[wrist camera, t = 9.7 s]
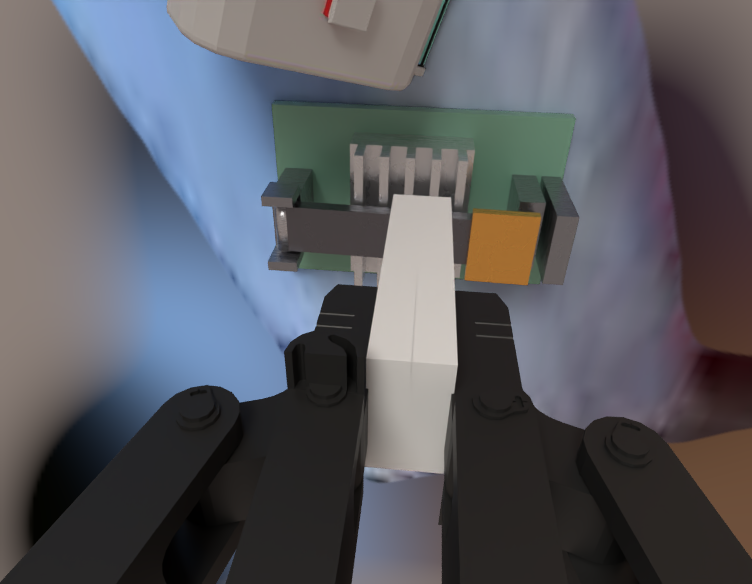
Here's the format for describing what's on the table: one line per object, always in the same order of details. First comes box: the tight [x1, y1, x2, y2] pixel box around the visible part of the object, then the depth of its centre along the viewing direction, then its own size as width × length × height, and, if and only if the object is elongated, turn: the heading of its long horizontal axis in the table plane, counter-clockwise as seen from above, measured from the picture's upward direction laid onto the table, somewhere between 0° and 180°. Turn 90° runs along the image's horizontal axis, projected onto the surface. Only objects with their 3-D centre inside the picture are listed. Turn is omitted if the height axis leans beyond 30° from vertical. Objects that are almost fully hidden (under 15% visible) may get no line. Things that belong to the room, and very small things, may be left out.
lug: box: [506, 174, 579, 285], centre depth 47 cm, size 6×4×8 cm
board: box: [272, 101, 576, 284], centre depth 51 cm, size 16×25×1 cm, turn 89°
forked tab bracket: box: [261, 168, 314, 272], centre depth 48 cm, size 7×2×8 cm, turn 179°
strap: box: [274, 201, 541, 285], centre depth 45 cm, size 6×21×2 cm, turn 89°
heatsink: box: [350, 132, 475, 287], centre depth 48 cm, size 12×10×6 cm
